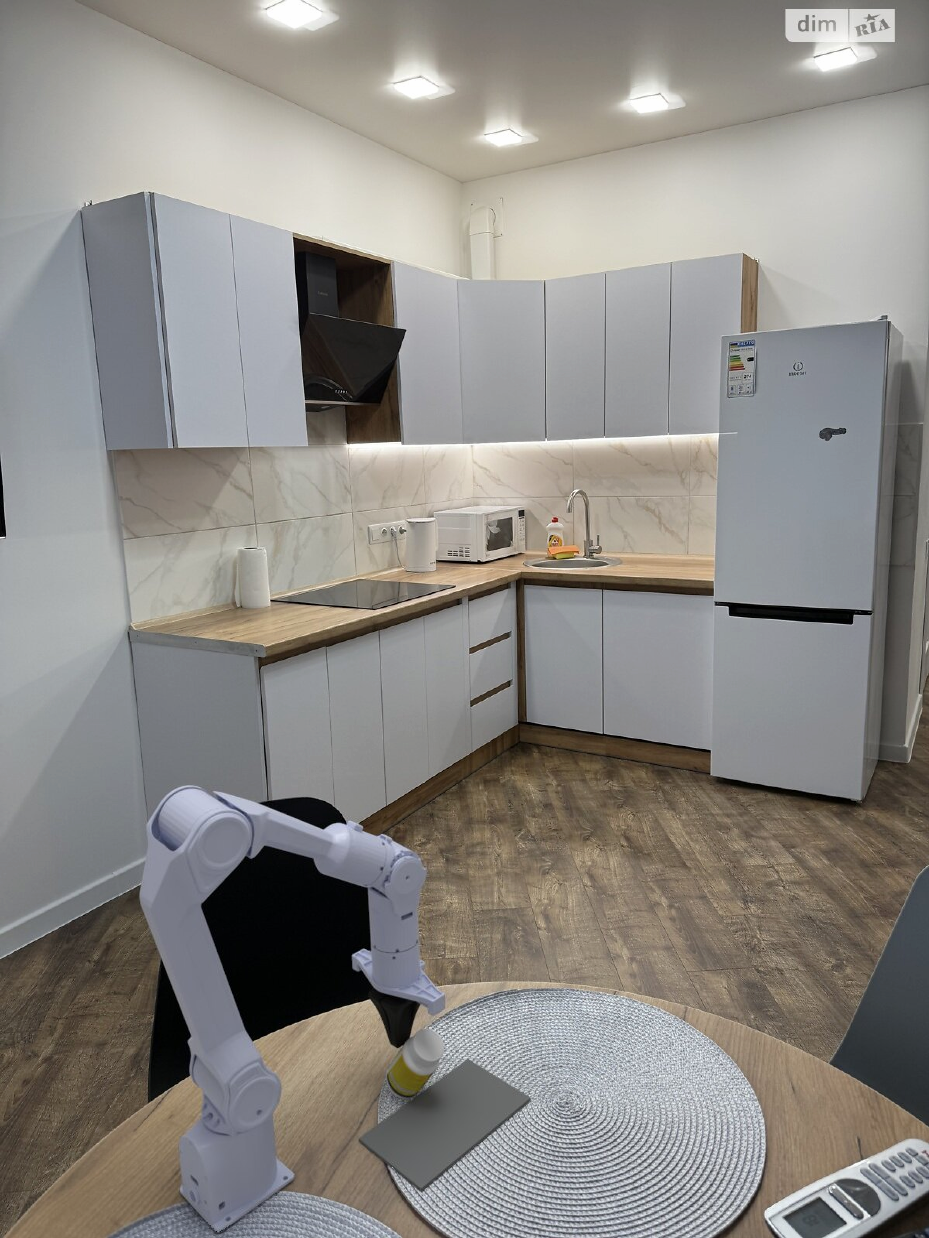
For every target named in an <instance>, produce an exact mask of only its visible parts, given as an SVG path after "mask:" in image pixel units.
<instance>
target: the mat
mask: <svg viewBox="0 0 929 1238" xmlns="http://www.w3.org/2000/svg"><path fill="white" fill-rule="evenodd" d="M531 1099H532V1098H531V1096H529V1095H527V1094H525V1093H524V1092H522V1091H521V1090H519V1089H517V1088H516V1087H514V1086H512V1085H511V1084H509V1083H508V1082H507V1081H504V1079H501V1078H500V1077H498V1076H496V1075H495V1074H493V1073H492V1072H490V1071H489V1070H488V1069H487V1070H486V1069H485V1068H484V1067H482V1066H480V1065H479V1064H478V1063H476V1062H474V1061H472V1060H470V1059H469V1058H467V1059H465V1060H464V1061H463V1062H462V1063H461V1064H459V1065H457V1066H456V1067H454V1069H452V1070H450V1072H448V1073H446V1074H445V1075H443V1077H441V1078H440V1079H437V1081H435V1082H434V1083H433V1084H431V1085H430V1086H429V1087H427V1088H425V1089H424V1090H423V1091H422V1092H419V1093H418V1094H417V1095H416V1096H414V1097H413V1098H411V1100H409V1101H408V1102H407V1103H405V1104H404V1105H402V1106H401V1107H400V1108H398V1109H397V1110H396V1111H394V1112H393V1113H391V1114H389V1116H387V1117H386V1118H385V1119H383V1120H382V1121H380V1123H378V1124H376V1125H375V1126H373V1127H372V1128H371V1129H370V1130H368V1131H367V1132H365V1133H364V1134H363V1135H361V1136H360V1137H358V1142H359V1143H360V1144H361V1145H362V1146H363V1147H365V1148H366V1149H367V1150H369V1151H370V1152H372V1154H374V1155H375V1156H376V1157H377V1158H378V1159H380V1160H381V1161H382V1162H383V1163H385V1164H386V1165H387V1166H389V1165H390V1166H391V1167H393V1168H394V1169H395V1170H396V1171H397V1172H398V1173H397V1172H396V1171H395V1170H394V1169H393V1170H394V1171H395V1172H396V1173H397V1174H398V1175H400V1176H401V1177H402V1178H403V1179H405V1181H407V1182H409V1183H410V1184H411V1185H412V1186H413V1187H415V1188H416V1189H418V1191H420V1192H421V1193H422V1192H423V1191H424V1190H425V1189H427V1188H428V1187H429V1186H430V1185H431V1184H433V1183H434V1182H435V1181H436V1180H437V1179H439V1178H440V1177H441V1176H442V1175H443V1174H445V1173H446V1172H447V1171H449V1169H451V1168H452V1167H453V1166H454V1165H456V1164H457V1163H458V1162H459V1161H460V1160H462V1159H463V1158H464V1157H465V1156H466V1155H468V1154H469V1153H470V1152H471V1151H472V1150H474V1149H475V1148H476V1147H477V1146H479V1144H481V1143H482V1142H483V1141H484V1140H485V1139H487V1138H488V1137H489V1136H490V1135H491V1134H493V1133H494V1132H495V1131H496V1130H498V1129H499V1128H500V1127H501V1126H502V1125H503V1124H505V1123H506V1122H507V1121H508V1120H509V1119H510V1118H512V1117H513V1116H514V1115H515V1114H517V1113H518V1112H519V1111H521V1109H523V1108H524V1107H525V1106H526V1105H527V1104H528V1103H530V1102H531V1101H532V1100H531ZM390 1166H389V1167H390ZM391 1167H390V1168H391Z"/></svg>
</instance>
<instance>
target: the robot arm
mask: <svg viewBox="0 0 929 1238" xmlns="http://www.w3.org/2000/svg"><path fill="white" fill-rule="evenodd" d="M212 793H213V794H214V796H215V797H216V798H215V797H213V796H212V795H211V794H210V792H208V791H207V790H205V789H204V788H202V787H200V786H197V785H188V784H187V785H181V786H179V787H177V788H175V789H173V790H171V791H170V792H169V793H167V794H165V796H164V797H163V798H162V799H161V801H160V802H159V804H158V806H157V807H156V809H155V810H154V812H153V813H152V815H151V817H150V819H148V821H147V823H146V825H145V829H146V836H147V837H146V838H147V850H146V856H145V862H144V867H143V872H142V879H141V882H140V883H141V884H140V888H139V889H140V890H139V901H140V907H141V910H142V911H143V913H144V917H145V920H146V922H147V925H148V928H149V929H150V930H149V931H150V932H151V935H152V938H153V939H154V942H155V943H154V944H155V946H156V948H157V950H158V954H159V955H160V958H161V961H162V962H163V966H164V968H165V971H166V974H167V977H168V979H169V981H170V984H171V986H172V990H173V992H174V994H175V997H176V1000H177V1002H178V1004H179V1008H180V1010H181V1013H182V1015H183V1019H184V1020H185V1023H186V1025H187V1028H188V1031H189V1033H190V1038H189V1039H188V1040H187V1044H188V1046H189V1051H190V1062H189V1076H190V1079H191V1081H192V1082H193V1083H194V1085H196V1087H198V1088H199V1089H200V1090H201V1092H202V1105H201V1115H200V1117H199V1118H198V1120H196V1122H195V1124H193V1126H192V1127H191V1128H189V1129H188V1131H186V1132H185V1133H184V1134H183V1135H182V1136H180V1138H179V1140H178V1154H179V1155H178V1156H179V1165H180V1173H181V1174H180V1177H181V1185H180V1187H179V1192H180V1194H181V1195H182V1196H183V1198H185V1200H186V1201H187V1202H188V1203H189V1204H190V1205H191V1206H192V1207H193V1208H194V1209H195V1211H196V1212H197V1213H198V1214H199V1215H200V1216H201V1218H203V1219H204V1220H205V1222H206V1223H207V1222H208V1223H207V1224H208V1225H209V1226H210V1225H211V1226H210V1228H212V1229H213V1228H214V1229H213V1230H214V1231H215V1232H216V1231H217V1232H216V1233H219V1232H218V1231H221V1230H223V1229H224V1228H226V1227H227V1228H228V1226H229V1225H230V1226H231V1225H233V1224H234V1223H235V1222H237V1221H238V1220H240V1219H241V1218H243V1217H244V1216H245V1215H247V1214H248V1213H249V1212H250V1211H253V1209H255V1208H257V1207H258V1206H259V1205H260V1204H262V1203H263V1202H264V1201H266V1200H268V1199H269V1198H270V1197H272V1196H273V1195H274V1194H275V1193H277V1192H278V1191H280V1190H282V1188H284V1187H286V1185H288V1184H290V1183H291V1182H292V1181H294V1179H295V1173H294V1172H293V1171H292V1170H291V1169H289V1168H288V1167H287V1165H286V1164H284V1163H283V1162H282V1160H280V1159H279V1158H278V1157H277V1148H276V1147H277V1146H276V1135H275V1123H274V1112H275V1110H276V1109H277V1107H278V1105H279V1103H280V1099H281V1096H282V1089H283V1087H282V1082H281V1079H280V1077H279V1076H278V1074H277V1073H276V1072H274V1071H273V1070H272V1069H270V1067H268V1066H267V1065H266V1064H265V1062H264V1059H263V1057H262V1055H261V1053H260V1051H259V1050H258V1048H257V1046H256V1045H255V1044H254V1042H253V1040H252V1038H251V1037H250V1036H249V1033H248V1032H247V1030H246V1028H245V1026H244V1022H243V1019H242V1017H241V1015H240V1011H239V1009H238V1006H237V1003H236V1001H235V998H234V995H233V993H232V990H231V987H230V985H229V981H228V979H227V975H226V974H225V973H226V972H225V971H224V968H223V964H222V962H221V959H220V956H219V954H218V952H217V948H216V946H215V943H214V940H213V937H212V934H211V931H210V928H209V925H208V923H207V920H206V917H205V915H204V912H203V909H202V904H203V903H204V902H205V901H206V900H207V898H208V897H210V895H211V894H212V893H213V892H214V891H215V890H216V889H217V888H218V887H219V886H220V885H221V884H222V883H223V882H224V881H225V879H226V878H227V877H229V875H230V874H231V873H232V872H233V871H234V870H235V869H236V868H237V867H238V866H239V865H240V863H241V862H242V861H243V860H244V858H245V857H248V858H249V859H253V858H255V857H256V856H257V855H258V854H259V853H260V852H261V850H262V849H263V848H264V846H266V847H271V848H274V849H278V850H282V851H286V852H289V853H292V854H296V855H299V856H304V857H307V858H311V859H313V862H314V865H315V867H316V868H317V870H318V872H319V873H320V874H323V875H325V876H329V877H332V878H335V879H339V880H341V881H344V882H348V883H350V884H354V885H357V886H361V887H364V888H367V895H368V912H369V930H370V931H369V933H370V950H367V949H365V948H362V949H360V950H359V951H357V952H355V953H352V955H351V961H352V962H351V963H352V969H353V970H354V971H356V972H360V971H362V972H363V974H364V975H365V977H366V978H367V979H368V982H369V983H370V984H371V986H372V987H373V988H372V989H370V990H369V991H368V999H369V1000H370V1001H371V1003H372V1004H373V1005H374V1007H375V1009H376V1010H377V1012H378V1014H379V1016H380V1018H381V1021H382V1023H383V1026H384V1029H385V1032H386V1035H387V1038H388V1041H389V1044H390V1045H391V1046H392V1047H394V1048H396V1049H399V1048H400V1049H401V1048H402V1046H403V1045H404V1044H405V1042H406V1041H407V1040H408V1039H409V1038H411V1035H412V1030H413V1026H414V1022H415V1019H416V1016H417V1014H418V1010H419V1008H420V1007H421V1006H423V1007H424V1008H427V1015H430V1016H432V1017H435V1016H437V1015H439V1014H440V1013H442V1012H443V1011H444V1010H445V1009H446V994H445V993H444V992H443V991H441V990H439V989H438V987H437V986H436V985H435V984H434V983H433V981H432V980H431V979H430V977H429V976H428V975H427V974H426V973H425V971H424V969H425V968H426V962H425V961H424V960H423V959H421V954H420V953H421V952H420V934H419V933H420V931H419V912H418V911H419V909H418V908H419V904H420V903H421V901H420V900H421V899H420V898H421V897H420V895H421V891H422V888H423V887H424V885H425V882H426V879H427V876H428V875H427V874H428V869H427V867H424V866H423V862H422V859H421V858H420V855H418V854H417V853H416V852H415V851H413V850H411V849H410V848H407V847H405V846H403V845H401V844H400V843H398V842H397V841H394V840H393V838H392V837H391V836H388V835H386V834H383V833H380V835H374V834H371V833H369V832H366V831H363V830H364V827H363V825H361V824H360V823H357V822H355V821H352V820H348V821H347V823H346V824H345V823H342V822H336V823H332V824H330V825H328V826H327V827H325V828H324V829H322V828H320V827H317V826H315V825H313V824H310V823H308V822H305V821H302V820H301V819H298V818H295V817H293V816H291V815H287V813H284V812H280V811H278V810H276V809H273V808H270V807H269V806H266V805H263V804H261V803H258V802H255V801H253V800H249V799H246V798H243V797H238V796H236V795H232V794H229V793H226V792H222V791H215V790H213V791H212ZM230 1226H229V1227H230ZM227 1228H226V1229H227ZM224 1230H225V1229H224ZM224 1230H223V1231H224ZM221 1232H222V1231H221Z"/></svg>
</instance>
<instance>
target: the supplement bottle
mask: <svg viewBox="0 0 929 1238" xmlns="http://www.w3.org/2000/svg"><path fill="white" fill-rule="evenodd" d="M444 1052H445V1045H444V1041H443V1039H442V1037H441V1036H440V1035H439V1034H438V1033H437V1032H436V1031H435V1030H433V1029H430V1028H422V1029H419V1030H418V1031H416V1033H415V1034H414V1035H413V1036H410V1038H409V1039H408V1040H407V1041H406V1042H405V1044H404V1045H403V1046H401V1047H400V1050H399V1051H398V1052H397V1054H396V1055H395V1056H394V1058H393V1059H392V1060H391V1062H390V1063H389V1065H388V1067H387V1069H386V1071H385V1082H386V1085H387V1088H388V1089H389V1091H390V1092H391V1093H392V1094H393V1095H394V1096H395V1097H397V1098H399V1099H403V1100H409V1099H413V1098H415V1097H416V1096H418V1095H419V1094H420V1093H421V1090H422V1089H423V1088H424V1086H425V1085H426V1084H427V1082H428V1081H429V1080H430V1078H431V1077H432V1076H433V1075H434V1073H435V1072H436V1070H437V1069H438V1067H439V1064H440V1060H441V1059H442V1057H443V1055H444Z"/></svg>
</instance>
